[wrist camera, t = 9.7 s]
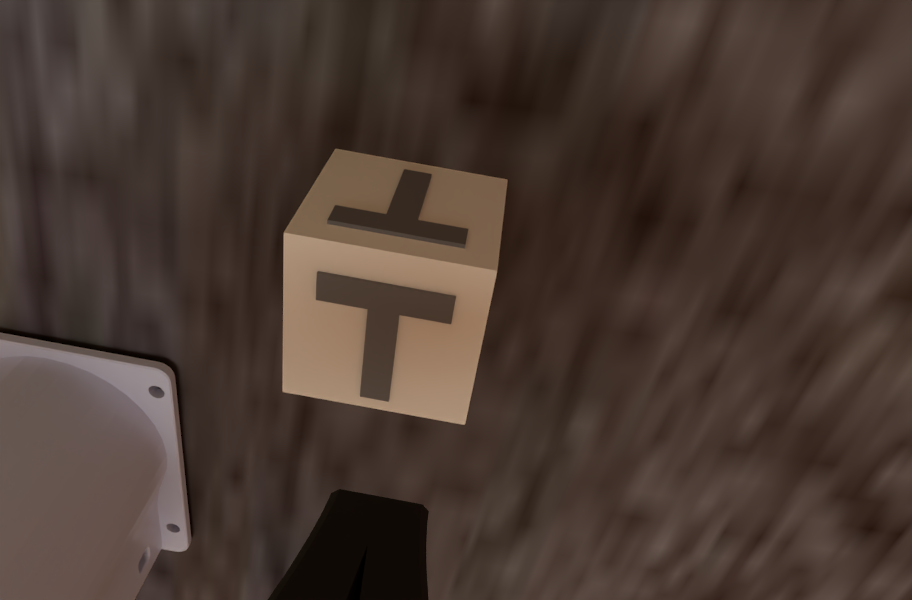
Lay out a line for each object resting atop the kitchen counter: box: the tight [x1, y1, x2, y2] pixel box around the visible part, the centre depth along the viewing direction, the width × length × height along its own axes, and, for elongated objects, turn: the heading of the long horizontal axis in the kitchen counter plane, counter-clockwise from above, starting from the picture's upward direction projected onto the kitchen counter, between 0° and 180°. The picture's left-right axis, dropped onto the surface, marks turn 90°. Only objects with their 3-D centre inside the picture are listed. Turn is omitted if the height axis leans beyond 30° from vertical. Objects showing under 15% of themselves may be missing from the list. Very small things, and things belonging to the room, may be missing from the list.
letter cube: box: [283, 149, 508, 425], centre depth 18 cm, size 5×4×5 cm
